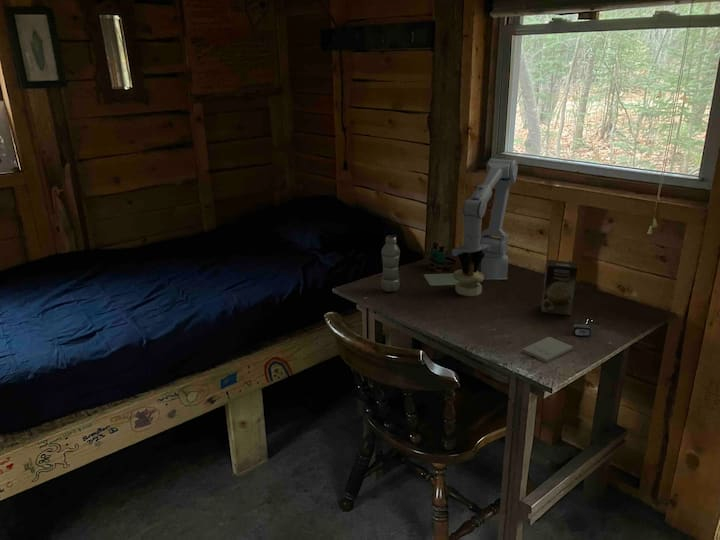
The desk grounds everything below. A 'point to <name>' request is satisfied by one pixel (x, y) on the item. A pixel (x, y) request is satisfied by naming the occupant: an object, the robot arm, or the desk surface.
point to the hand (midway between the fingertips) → (469, 272)
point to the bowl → (468, 288)
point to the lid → (469, 275)
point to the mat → (441, 279)
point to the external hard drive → (547, 349)
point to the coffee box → (559, 287)
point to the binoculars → (439, 259)
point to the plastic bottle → (390, 265)
